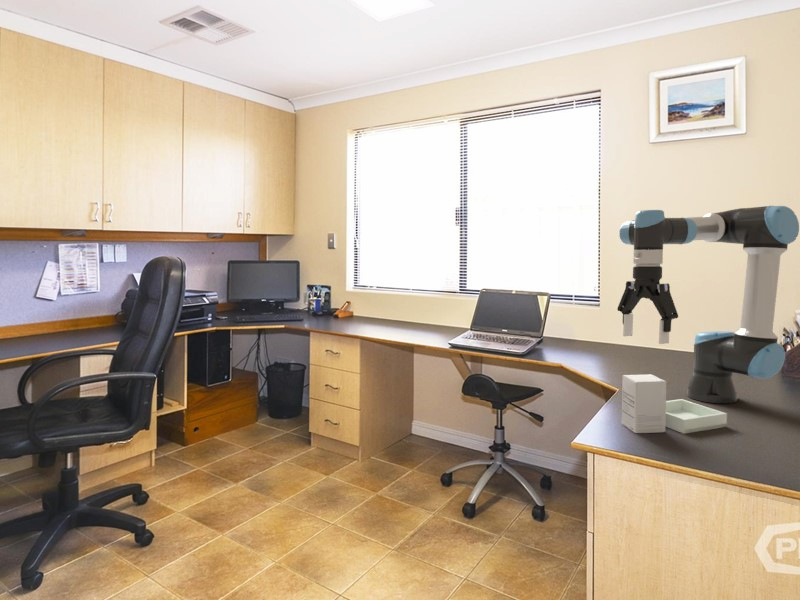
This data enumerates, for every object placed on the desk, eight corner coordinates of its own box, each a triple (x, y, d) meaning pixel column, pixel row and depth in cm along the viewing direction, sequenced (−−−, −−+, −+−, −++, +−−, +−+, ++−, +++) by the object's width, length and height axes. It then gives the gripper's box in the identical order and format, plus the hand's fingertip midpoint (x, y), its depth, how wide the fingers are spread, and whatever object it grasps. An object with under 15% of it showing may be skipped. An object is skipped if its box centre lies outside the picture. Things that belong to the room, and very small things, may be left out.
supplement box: (650, 422, 160) (651, 373, 158) (666, 432, 151) (668, 381, 149) (620, 423, 159) (621, 374, 158) (634, 433, 150) (636, 381, 149)
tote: (681, 411, 170) (681, 398, 170) (726, 426, 155) (727, 413, 155) (641, 416, 165) (641, 404, 165) (683, 433, 150) (684, 419, 149)
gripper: (606, 264, 161) (604, 333, 163) (672, 266, 138) (669, 347, 140) (626, 264, 163) (624, 332, 166) (695, 266, 140) (691, 345, 142)
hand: (645, 339), depth 153 cm, fingers open, 13 cm apart
